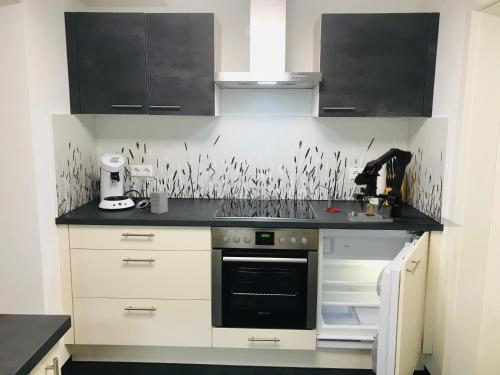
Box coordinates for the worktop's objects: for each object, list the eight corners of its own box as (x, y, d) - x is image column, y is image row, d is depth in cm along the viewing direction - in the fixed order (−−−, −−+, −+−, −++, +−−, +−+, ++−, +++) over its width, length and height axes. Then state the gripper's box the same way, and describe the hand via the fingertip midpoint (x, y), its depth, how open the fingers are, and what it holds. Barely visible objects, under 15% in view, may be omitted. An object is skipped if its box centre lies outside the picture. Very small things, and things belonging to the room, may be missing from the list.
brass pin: (372, 219, 234) (372, 203, 233) (374, 220, 230) (375, 205, 229) (365, 219, 234) (366, 203, 233) (367, 220, 230) (368, 205, 229)
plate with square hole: (386, 218, 237) (386, 210, 237) (392, 222, 227) (393, 214, 227) (347, 217, 237) (347, 210, 236) (352, 221, 227) (352, 214, 226)
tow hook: (332, 209, 262) (322, 210, 257) (333, 189, 261) (324, 190, 255) (342, 211, 256) (333, 213, 250) (344, 191, 254) (334, 192, 248)
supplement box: (159, 210, 252) (158, 190, 250) (168, 211, 248) (167, 191, 246) (150, 212, 245) (150, 191, 244) (159, 213, 242) (159, 193, 240)
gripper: (382, 182, 237) (381, 208, 240) (351, 182, 237) (350, 208, 239) (390, 185, 226) (388, 212, 228) (357, 185, 226) (355, 212, 228)
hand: (370, 211), depth 231 cm, fingers open, 9 cm apart
